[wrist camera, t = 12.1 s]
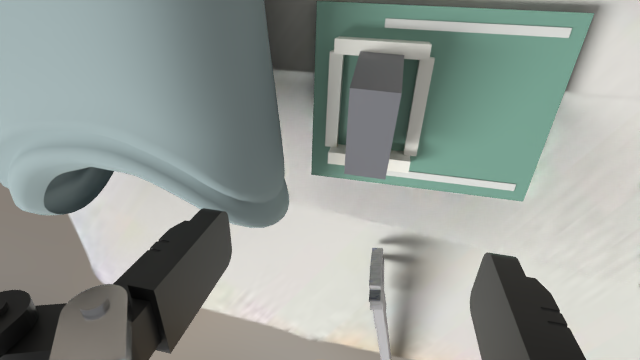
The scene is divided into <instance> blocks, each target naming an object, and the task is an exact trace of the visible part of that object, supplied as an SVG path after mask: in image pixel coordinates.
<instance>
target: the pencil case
mask: <svg viewBox="0 0 640 360" xmlns="http://www.w3.org/2000/svg"><path fill="white" fill-rule="evenodd" d="M114 171H117V172H122V173H126V174H130V175H134V176H137V177H139V178H142V179H144V180H146V181H149V182H151V183H153V184H155V185H157V186H159V187H161V188H163V189H165V190H167V191H168V192H170V193H172V194H174V195H176V196H177V197H179V198H181V199H183V200H185V201H187V202H188V203H190V204H192V205H194V206H196V207H197V208H199V209H203V208H206V209H213V210H219V211H225V212H227V214H228V218H229V223H232V224H235V225H240V226H245V227H250V228H264V227H267V226H270V225H274V224H275V223H277V222H278V221H279V220H280V219H282V218H283V217H284V216H285V214H286V212H287V210H288V205H289V194H288V189H287V185H286V182H285V179H284V155H283V146H282V138H281V129H280V121H279V113H278V105H277V97H276V90H275V82H274V75H273V68H272V60H271V53H270V45H269V37H268V29H267V21H266V12H265V4H264V0H0V182H1V184H2V185H3V186H5V187H7V188H9V190H10V193H11V195H12V198H13V200H14V202H15V205H16V206H18V207H19V208H20V209H21V210H23V211H27V212H31V213H36V214H40V215H61V214H68V213H72V212H75V211H77V210H79V209H81V208H83V207H85V206H86V205H88V204H89V203H90V202H91V201H92V200H93V199H94V198H96V197H97V196H98V194H99V193H100V192H101V191H102V189H103V188H104V187H105V185H106V184H107V182H108V181H109V179H110V177H111V176H112V174H113V172H114Z"/></svg>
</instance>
